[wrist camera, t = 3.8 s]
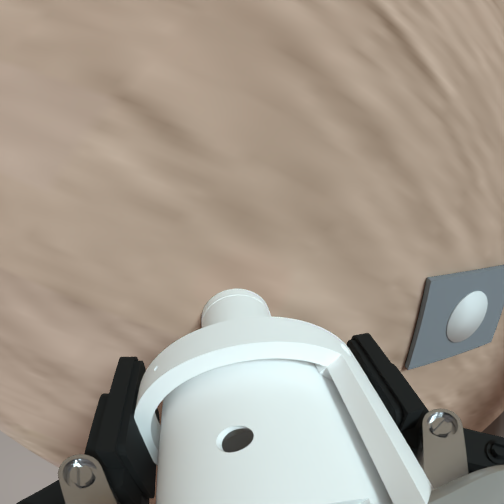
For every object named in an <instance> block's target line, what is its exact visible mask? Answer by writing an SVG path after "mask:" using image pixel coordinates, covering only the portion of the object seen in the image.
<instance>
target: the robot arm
mask: <svg viewBox="0 0 504 504" xmlns="http://www.w3.org/2000/svg"><path fill="white" fill-rule="evenodd" d="M347 347H348V348H349V349H350V350H351V352H352V353H353V355H354V357H355V358H356V360H357V361H358V363H359V365H360V366H361V368H362V369H363V371H364V373H365V374H366V376H367V377H368V379H369V381H370V383H371V384H372V386H373V388H374V389H375V391H376V392H377V394H378V396H379V397H380V399H381V401H382V402H383V404H384V405H385V407H386V409H387V410H388V412H389V414H390V415H391V417H392V419H393V420H394V422H395V424H396V425H397V427H398V429H399V430H400V432H401V434H402V435H403V437H404V439H405V440H406V442H407V444H408V445H409V447H410V449H411V450H412V452H413V454H414V456H415V457H416V459H417V461H418V462H419V464H420V466H421V468H422V469H423V471H424V473H425V474H426V476H427V478H428V480H429V481H430V483H431V485H432V487H433V488H434V490H432V491H431V494H430V498H429V501H428V503H427V504H504V438H503V437H499V436H495V435H490V434H486V433H482V432H477V431H473V430H469V429H465V428H463V426H462V422H461V420H460V418H459V417H458V416H457V415H456V414H455V413H454V412H452V411H450V410H447V409H434V410H432V411H428V410H427V408H426V407H425V405H424V404H423V403H422V401H421V400H420V398H419V397H418V396H417V394H416V393H415V392H414V390H413V389H412V387H411V386H410V385H409V383H408V382H407V381H406V379H405V378H404V377H403V375H402V374H401V372H400V371H399V370H398V368H397V367H396V366H395V365H394V364H392V363H391V362H390V361H389V359H388V358H387V357H386V355H385V354H384V353H383V351H382V350H381V349H380V347H379V346H378V345H377V343H376V342H375V341H374V339H373V338H372V337H371V335H370V334H369V333H365V334H359V335H354V336H353V337H352V339H351V340H349V341H348V342H347ZM145 372H146V369H145V366H144V363H143V361H138V359H137V357H120V359H119V362H118V365H117V368H116V372H115V375H114V379H113V382H112V386H111V389H110V393H109V394H102V395H101V397H100V399H99V402H98V406H97V409H96V413H95V416H94V420H93V423H92V427H91V431H90V435H89V438H88V442H87V446H86V450H85V454H79V455H73V456H71V457H68V458H67V459H66V460H65V461H63V463H62V464H61V465H60V467H59V471H58V478H59V480H57V481H56V482H54V483H52V484H51V485H49V486H47V487H45V488H43V489H42V490H40V491H38V492H36V493H35V494H33V495H31V496H29V497H27V498H25V499H23V500H22V501H20V502H18V503H17V504H149V498H154V495H155V476H156V464H155V463H154V462H153V460H152V458H151V455H150V453H149V451H148V449H147V447H146V445H145V442H144V440H143V438H142V436H141V433H140V431H139V429H138V426H137V424H136V422H135V419H134V414H135V408H136V403H137V397H138V392H139V387H140V383H141V380H142V378H143V375H144V373H145ZM155 414H156V417H157V420H158V422H159V421H160V419H159V412H158V409H157V408H156V410H155Z"/></svg>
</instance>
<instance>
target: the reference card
mask: <svg viewBox="0 0 504 504" xmlns="http://www.w3.org/2000/svg"><path fill="white" fill-rule="evenodd" d="M503 306H504V265H500V266H495V267H489V268H483V269H478V270H472V271H466V272H460V273H453V274H447V275H441V276H434V277H428V278H427V280H426V285H425V290H424V295H423V300H422V304H421V308H420V313H419V317H418V321H417V325H416V329H415V332H414V336H413V340H412V343H411V347H410V350H409V354H408V357H407V361H406V364H405V367H406V368H407V369H408V370H409V369H413V368H416V367H420V366H423V365H426V364H430V363H433V362H436V361H439V360H442V359H445V358H448V357H451V356H454V355H457V354H460V353H463V352H466V351H468V350H471V349H474V348H477V347H479V346H482V345H485V344H487V343H490V342H491V341H492V338H493V335H494V333H495V330H496V327H497V324H498V321H499V319H500V316H501V313H502V309H503Z"/></svg>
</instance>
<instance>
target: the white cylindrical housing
mask: <svg viewBox="0 0 504 504" xmlns="http://www.w3.org/2000/svg"><path fill="white" fill-rule="evenodd" d="M162 400H163V406H162V417H161V425H160V424H159V422H158V420H157V417H156V414H155V410H156V408H157V407H158V405H159V404H160V402H161V401H162ZM134 419H135V422H136V424H137V426H138V429H139V431H140V433H141V436H142V438H143V440H144V442H145V445H146V447H147V449H148V451H149V453H150V455H151V458H152V460H153V462H154V463H155V464H156V465H157V466H158V471H157V491H156V504H427V503H428V501H429V498H430V494H431V491H432V490H434V488H433V487H432V485H431V483H430V481H429V480H428V478H427V476H426V474H425V473H424V471H423V469H422V468H421V466H420V464H419V462H418V461H417V459H416V457H415V456H414V454H413V452H412V450H411V449H410V447H409V445H408V444H407V442H406V440H405V439H404V437H403V435H402V434H401V432H400V430H399V429H398V427H397V425H396V424H395V422H394V420H393V419H392V417H391V415H390V414H389V412H388V410H387V409H386V407H385V405H384V404H383V402H382V401H381V399H380V397H379V396H378V394H377V392H376V391H375V389H374V388H373V386H372V384H371V383H370V381H369V379H368V377H367V376H366V374H365V373H364V371H363V369H362V368H361V366H360V365H359V363H358V361H357V360H356V358H355V357H354V355H353V353H352V352H351V350H350V349H349V348H348V347H347V345H346V344H345V343H344V342H343V341H342V340H341V339H339V338H338V337H337V336H335V335H334V334H332V333H331V332H329V331H327V330H326V329H324V328H321V327H319V326H317V325H314V324H311V323H308V322H305V321H301V320H296V319H291V318H283V317H271V314H270V312H269V309H268V306H267V304H266V303H265V301H264V300H263V299H262V298H261V297H260V296H259V295H257V294H256V293H254V292H252V291H249V290H245V289H229V290H225V291H222V292H220V293H218V294H216V295H215V296H214V297H212V298H211V299H210V300H209V301H208V302H207V304H206V305H205V307H204V309H203V312H202V328H201V329H198V330H196V331H194V332H192V333H190V334H188V335H186V336H184V337H182V338H180V339H179V340H177V341H175V342H174V343H172V344H171V345H170V346H168V347H167V348H166V349H164V350H163V351H162V352H161V353H160V354H159V355H158V356H157V357H156V358H155V359H154V360H153V361H152V363H151V364H150V365H149V367H148V368H147V370H146V372H145V373H144V375H143V378H142V380H141V383H140V387H139V392H138V397H137V403H136V408H135V414H134Z"/></svg>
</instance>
